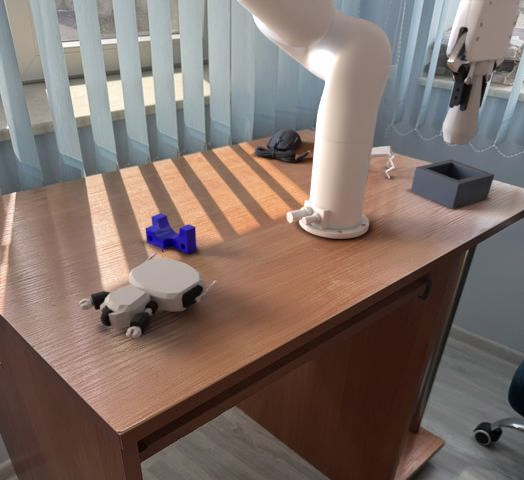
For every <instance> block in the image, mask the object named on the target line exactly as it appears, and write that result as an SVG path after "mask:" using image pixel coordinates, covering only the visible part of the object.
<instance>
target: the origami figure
mask: <svg viewBox="0 0 524 480" xmlns="http://www.w3.org/2000/svg"><path fill="white" fill-rule="evenodd" d="M386 157H387V159H388V161H387V162H386V164H385V165H386V167H387V168H388V169H387V170H385V174H386V176H387V177H388V179H391V176H390V174H389V172H391V171H393V170H395V169H396V166H395V164H394V162H393V161H392V160H393V159H394V158H395V157H396V154H395V153H394V151H393V149H392V146H391V145H383V146H376V147H372V153H371V158H386ZM389 164H391V166H390V165H389Z"/></svg>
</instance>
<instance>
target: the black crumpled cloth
mask: <svg viewBox="0 0 524 480" xmlns="http://www.w3.org/2000/svg"><path fill="white" fill-rule="evenodd" d="M302 143H303V141H302V138H301V136H300V134H299V133H298V132H297V131H296V130H293V129H289V128H284V129H281V130H279V131H277V132H276V133H274V134H273V135H272V136H271V137H270V138H269V140H268V142H267V144H266V147H264V146H261V145H259V146H256V148H255V150H254V151H253V155H254V156H257V157H261V158H262V157H263V158H273V159H279V160H280V161H284V162H287V163H288V162H289V163H297V162H298V163H299V162H300V161H302V160H303V159H305V158H306V157H307V156H309V155H310V153H311V152H312V151H311V150H307V151H306V152H305V151H304V152H303V153H302V154H300V155H299V156H298V157H296V156H297V153H296V152H295V149H296V148H299V147H301V145H302Z"/></svg>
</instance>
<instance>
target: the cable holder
mask: <svg viewBox="0 0 524 480" xmlns="http://www.w3.org/2000/svg"><path fill="white" fill-rule="evenodd" d="M144 230H145V237H146V243H147V244H150V245H153V246H155V247H156V248H159V249H161V250H166V249H169V248H173V249H174V250H176V251H179V252H181V253H184V254H186V255H189V254H191V253H193V252H195V251H197V233H196V226H194V225H191V224H189V223H188V224H186V225H184V226H181V227H179V232H176V231H175V230H173V228H172V226H171V225H170V222H169V219H168V216H167V214H164V213H162V212H160V213H158V214H155V215H152V216H151V225H150V226H147V227H145V229H144Z"/></svg>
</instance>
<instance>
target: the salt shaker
mask: <svg viewBox="0 0 524 480" xmlns="http://www.w3.org/2000/svg"><path fill="white" fill-rule="evenodd" d="M465 60H466V58H465ZM489 64H490V63H489V61H482V62H477V64H476V67H475V70H474V73H473V77H472V80H471V82H470V84H473V85H472V90H471V94H470V97H469V101H468V105H467V109H466V110H465V111H461V110H460V104H459V105H458V106H454V107H453V108H450V107H449V110H448V112H447V114H446V116H445V119H444V120H443V123H442V135H443V137H442V138H443V142H445V143H447V144H450V145H455V146H464V145H468V144H469V143H470V142H471V141H472V140H473V138H474V136H476V134H477V132H478V128H479V127H478V126H479V116H480V109H481V107H480V97H481V87H482V77H483V76H484V75H486V74H487V72H488V70H489ZM463 66H465V68H466V71H467V69H468V65H463Z"/></svg>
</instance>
